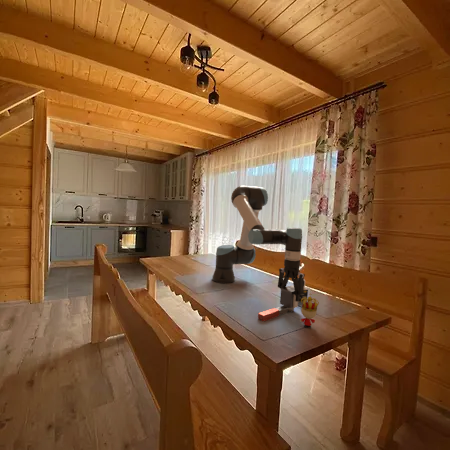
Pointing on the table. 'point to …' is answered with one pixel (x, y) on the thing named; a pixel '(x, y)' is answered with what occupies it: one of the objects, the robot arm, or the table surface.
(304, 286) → the medicine bottle
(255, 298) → the table surface
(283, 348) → the table surface
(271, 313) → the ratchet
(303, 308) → the toy
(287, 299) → the dark wooden cube
